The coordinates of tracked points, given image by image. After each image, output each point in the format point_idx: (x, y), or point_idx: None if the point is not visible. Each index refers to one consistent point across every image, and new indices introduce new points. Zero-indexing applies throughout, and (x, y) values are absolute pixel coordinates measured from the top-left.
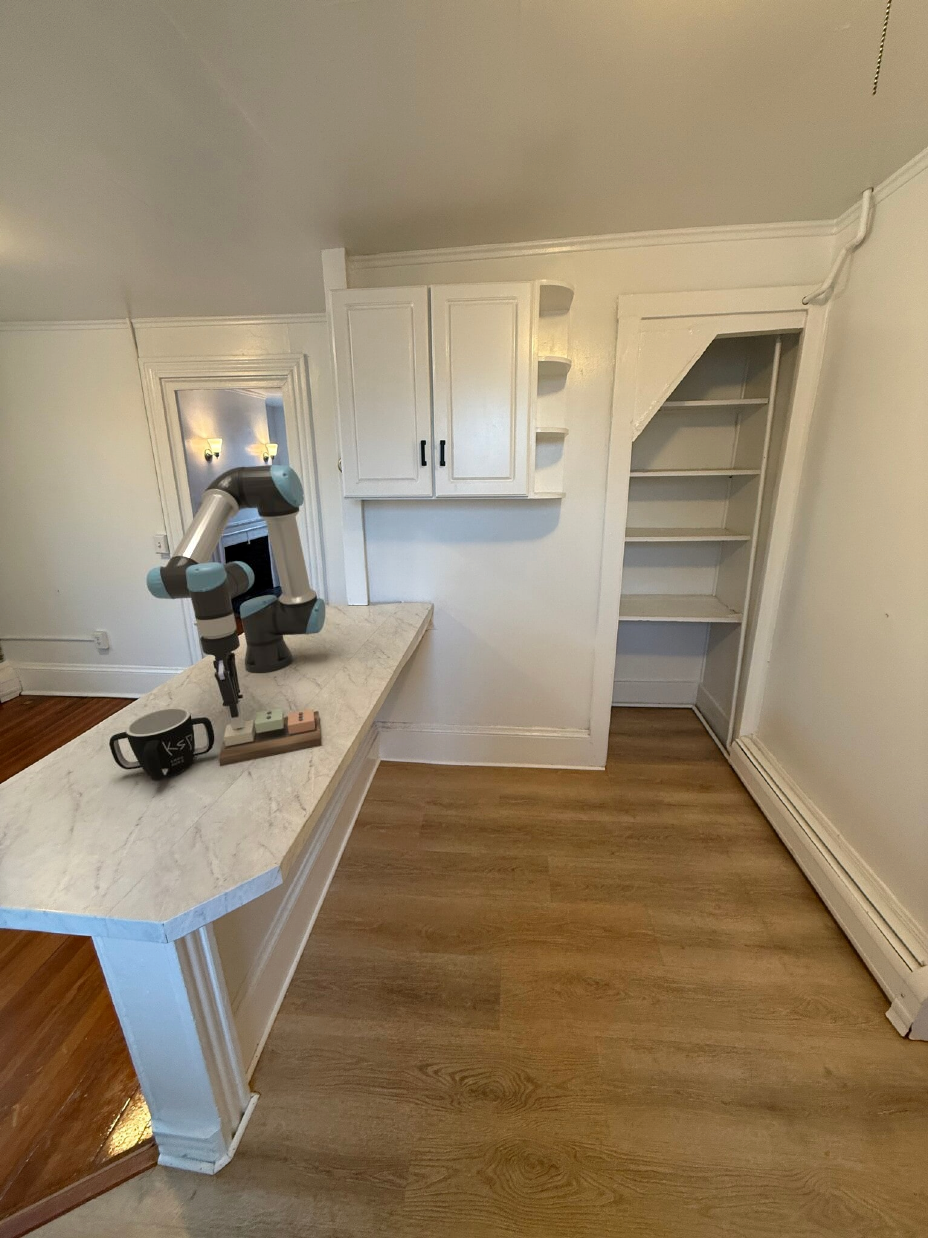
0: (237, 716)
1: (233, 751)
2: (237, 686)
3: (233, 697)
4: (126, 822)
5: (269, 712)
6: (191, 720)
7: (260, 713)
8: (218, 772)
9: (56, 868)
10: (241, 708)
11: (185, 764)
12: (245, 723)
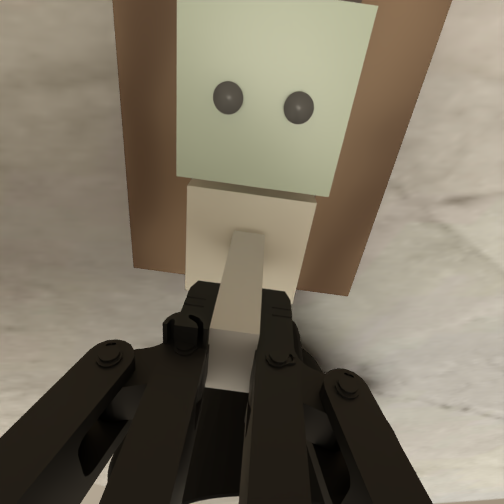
0: (285, 297)
1: (331, 255)
2: (132, 425)
3: (404, 464)
4: (438, 421)
5: (230, 97)
6: None
7: (202, 156)
8: (375, 283)
9: (486, 474)
10: (229, 286)
11: (314, 363)
12: (209, 224)
